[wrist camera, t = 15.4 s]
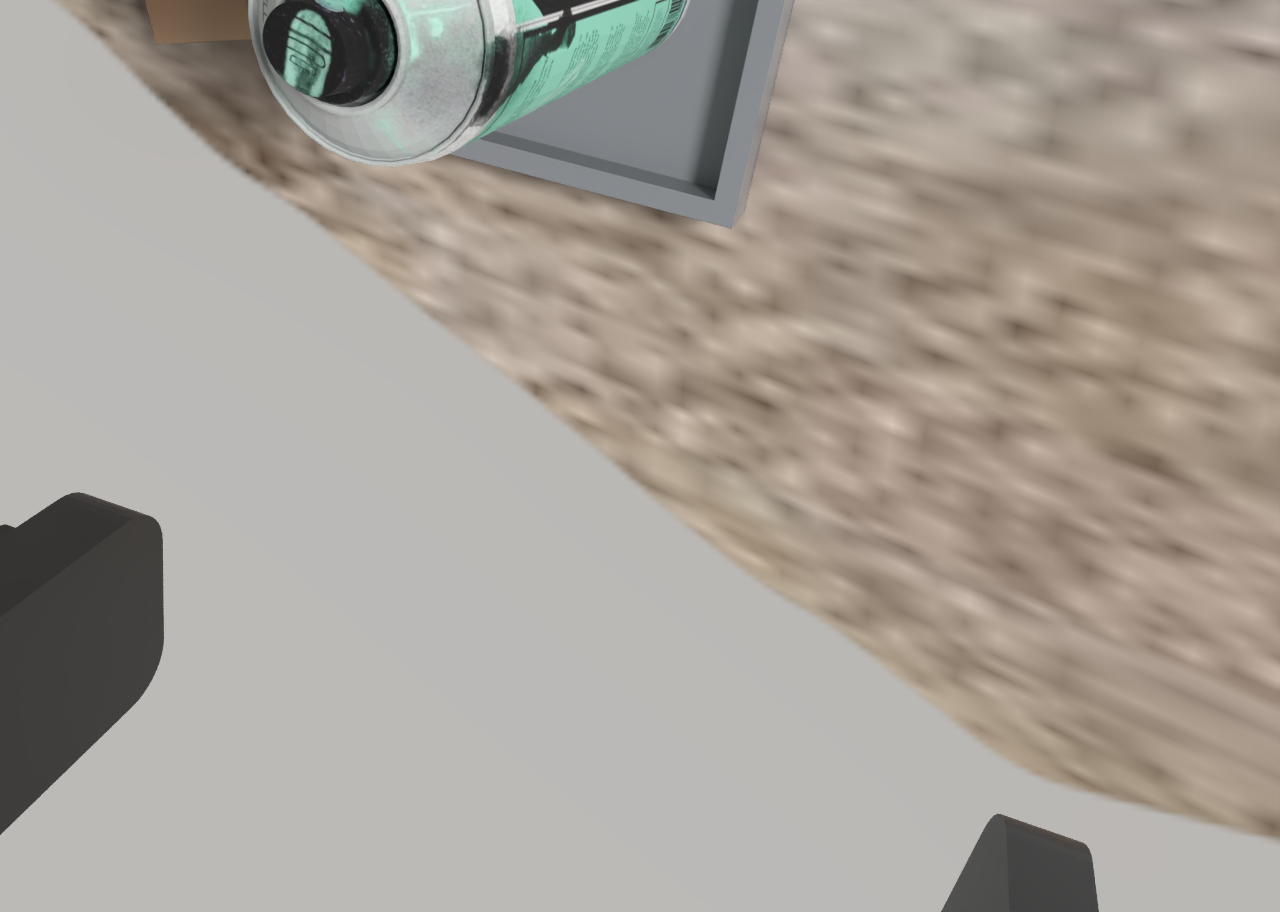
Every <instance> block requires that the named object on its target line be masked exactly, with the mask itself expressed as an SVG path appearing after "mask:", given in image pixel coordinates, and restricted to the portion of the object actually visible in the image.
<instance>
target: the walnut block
mask: <svg viewBox="0 0 1280 912" xmlns="http://www.w3.org/2000/svg"><path fill="white" fill-rule="evenodd" d="M145 3H146V7H147V11H148V15H149V19H150V23H151V27H152V31H153V35H154V39H155V43H156V45H157V44H175V43H193V42H211V41H229V40H247V39H251V32H250V26H249V19H248V0H145Z"/></svg>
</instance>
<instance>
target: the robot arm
mask: <svg viewBox="0 0 1280 912" xmlns="http://www.w3.org/2000/svg"><path fill="white" fill-rule="evenodd" d="M163 642H164V615H163V539H162V532H161V528H160V525H159V523H158V522H157V521H156V520H155V519H154V518H153V517H151V516H148V515H145V514H142V513H139V512H137V511H134V510H131V509H128V508H125V507H122V506H119V505H116V504H113V503H111V502H107V501H105V500H102V499H99V498H96V497H93V496H90V495H87V494H85V493H79V492H78V493H71V494H69V495H66V496H64V497H62V498H60V499H59V500H57V501H56V502H54V503H53V504H51V505H50V506H48V507H47V508H45V509H44V510H42V511H41V512H39V513H38V514H36V515H35V516H33V517H32V518H30V519H28V520H27V521H25V522H24V523H22V524H21V525H19V526H18V527H16V528H14V527H11V526H8V525H1V526H0V835H1V834H2V833H3V832H4V831H5V830H6V829H7V828H8V827H9V826H10V825H11V824H12V823H13V822H14V821H15V820H16V819H17V818H18V817H19V816H20V815H21V814H22V813H23V812H24V811H25V810H26V809H27V808H28V807H29V806H30V805H31V804H32V803H33V802H35V801H36V800H37V799H38V798H39V797H40V796H41V795H42V794H43V793H44V792H45V791H46V790H47V789H48V788H49V787H50V786H51V785H52V784H53V783H54V782H55V781H56V780H57V779H58V778H59V777H60V776H61V775H62V774H63V773H64V772H65V771H66V770H67V769H69V768H70V766H72V765H73V764H74V763H75V762H76V761H77V760H78V759H79V758H80V757H81V756H82V755H83V754H84V753H85V752H86V751H87V750H88V749H89V748H90V747H91V746H92V745H93V744H94V743H95V742H96V741H97V740H98V739H99V738H100V737H102V736H103V734H104V733H106V732H107V731H108V730H109V729H110V728H111V727H112V726H113V725H114V724H115V723H116V722H117V721H118V720H119V719H120V718H121V717H122V716H123V715H124V714H125V713H126V712H127V711H128V710H129V709H130V708H131V707H132V706H133V705H134V704H135V703H136V702H137V701H138V700H139V699H140V697H141V696H142V695H143V693H144V692H145V690H146V689H147V687H148V686H149V684H150V682H151V680H152V679H153V676H154V674H155V672H156V670H157V667H158V665H159V662H160V658H161V655H162V650H163ZM941 912H1099V910H1098V902H1097V894H1096V886H1095V877H1094V869H1093V862H1092V856H1091V853H1090V850H1089V848H1088V847H1087V845H1085V844H1084V843H1082V842H1079V841H1076V840H1073V839H1071V838H1067V837H1065V836H1062V835H1059V834H1056V833H1053V832H1050V831H1047V830H1045V829H1042V828H1039V827H1036V826H1033V825H1030V824H1027V823H1024V822H1021V821H1019V820H1016V819H1013V818H1010V817H1007V816H1004V815H1001V814H996V815H994V816H993V817H992V818H991V819H990V821H989V822H988V823H987V825H986V827H985V829H984V830H983V832H982V834H981V836H980V838H979V840H978V842H977V844H976V846H975V848H974V850H973V851H972V853H971V855H970V857H969V859H968V861H967V863H966V865H965V867H964V869H963V871H962V873H961V875H960V876H959V878H958V881H957V882H956V884H955V886H954V888H953V890H952V892H951V894H950V896H949V898H948V900H947V902H946V904H945V905H944V908H943V910H942V911H941Z"/></svg>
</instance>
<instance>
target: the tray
mask: <svg viewBox="0 0 1280 912" xmlns="http://www.w3.org/2000/svg"><path fill="white" fill-rule="evenodd" d="M793 3H794V0H691V1H690V4H689V6H688V9H687V11H686V14H685V16H684V18H683V19H682V21H681V22H680V24H679V26H678V27H677V29H676V30H675V31H674V32H673V33H672V34H671V35H670V36H669V37H668V38H667V40H666V41H664V42H663V43H662V44H661V45H659V46H658V47H656V48H655V49H653V50H652V51H651V52H649V53H647V54H645V55H643V56H641V57H639V58H637V59H635V60H633V61H631V62H629V63H627V64H625V65H623V66H621V67H619V68H617V69H615V70H613V71H611V72H610V73H608V74H606V75H604V76H602V77H600V78H598V79H596V80H594V81H592V82H590V83H588V84H586V85H584V86H582V87H580V88H578V89H576V90H574V91H572V92H570V93H568V94H566V95H564V96H562V97H560V98H558V99H556V100H554V101H552V102H550V103H548V104H546V105H544V106H543V107H541V108H539V109H537V110H535V111H533V112H531V113H529V114H527V115H525V116H523V117H521V118H519V119H517V120H515V121H513V122H511V123H509V124H507V125H505V126H503V127H501V128H499V129H497V130H495V131H493V132H491V133H489V134H487V135H485V136H483V137H481V138H479V139H477V140H476V141H474V142H472V143H470V144H468V145H466V146H464V147H462V148H460V149H458V150H456V151H454V152H452V153H449V154H451V155H455V156H459V157H462V158H466V159H470V160H474V161H478V162H481V163H485V164H489V165H493V166H496V167H500V168H504V169H508V170H512V171H515V172H519V173H523V174H527V175H530V176H534V177H538V178H542V179H546V180H549V181H553V182H557V183H561V184H564V185H568V186H572V187H576V188H580V189H583V190H587V191H591V192H595V193H598V194H602V195H606V196H610V197H614V198H617V199H621V200H625V201H629V202H632V203H636V204H640V205H644V206H648V207H651V208H655V209H659V210H663V211H666V212H670V213H674V214H678V215H681V216H685V217H689V218H693V219H697V220H700V221H704V222H708V223H712V224H715V225H719V226H723V227H727V228H731V229H732V227H733V226H734V225H735V223H736V222H737V220H738V219H739V218H740V216H741V215H742V213H743V212H744V210H745V206H746V202H747V198H748V194H749V189H750V185H751V181H752V177H753V172H754V168H755V164H756V160H757V155H758V151H759V147H760V143H761V139H762V134H763V130H764V126H765V122H766V117H767V113H768V109H769V105H770V101H771V96H772V92H773V88H774V84H775V79H776V75H777V71H778V67H779V62H780V58H781V54H782V50H783V46H784V41H785V37H786V33H787V29H788V24H789V20H790V16H791V12H792V8H793Z"/></svg>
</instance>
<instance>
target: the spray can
mask: <svg viewBox="0 0 1280 912" xmlns="http://www.w3.org/2000/svg"><path fill="white" fill-rule="evenodd" d="M690 1H691V0H248V19H249V26H250V32H251V39H252V44H253V47H254V51H255V54H256V57H257V60H258V63H259V66H260V69H261V71H262V73H263V75H264V77H265V79H266V82H267V84H268V86H269V88H270V90H271V92H272V94H273V95H274V96H275V98H276V99H277V101H278V102H279V104H280V105H281V106H282V108H283V109H284V111H285V112H286V114H287V115H288V116H289V117H290V118H291V119H292V120H293V121H294V122H295V123H296V124H297V125H298V127H299V128H300V129H301V130H302V131H303V132H304V133H305V134H306V135H308V136H309V137H310V138H312V139H313V140H314V141H316V142H317V143H319V144H320V145H321V146H323V147H324V148H325V149H327V150H329V151H331V152H333V153H335V154H337V155H339V156H341V157H343V158H345V159H347V160H351V161H354V162H358V163H361V164H365V165H369V166H381V167H397V166H403V165H409V164H414V163H420V162H426V161H432V160H435V159H437V158H439V157H442V156H444V155H447V154H449V153H452V152H454V151H456V150H458V149H460V148H462V147H464V146H466V145H468V144H470V143H472V142H474V141H476V140H477V139H479V138H481V137H483V136H485V135H487V134H489V133H491V132H493V131H495V130H497V129H499V128H501V127H503V126H505V125H507V124H509V123H511V122H513V121H515V120H517V119H519V118H521V117H523V116H525V115H527V114H529V113H531V112H533V111H535V110H537V109H539V108H541V107H543V106H544V105H546V104H548V103H550V102H552V101H554V100H556V99H558V98H560V97H562V96H564V95H566V94H568V93H570V92H572V91H574V90H576V89H578V88H580V87H582V86H584V85H586V84H588V83H590V82H592V81H594V80H596V79H598V78H600V77H602V76H604V75H606V74H608V73H610V72H611V71H613V70H615V69H617V68H619V67H621V66H623V65H625V64H627V63H629V62H631V61H633V60H635V59H637V58H639V57H641V56H643V55H645V54H647V53H649V52H651V51H652V50H653V49H655V48H656V47H658V46H659V45H661V44H662V43H663V42H664V41H666V40H667V38H668V37H669V36H670V35H671V34H672V33H673V32H674V31H675V30H676V29H677V27H678V26H679V24H680V22H681V21H682V19H683V18H684V16H685V14H686V11H687V9H688V6H689V4H690Z"/></svg>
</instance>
